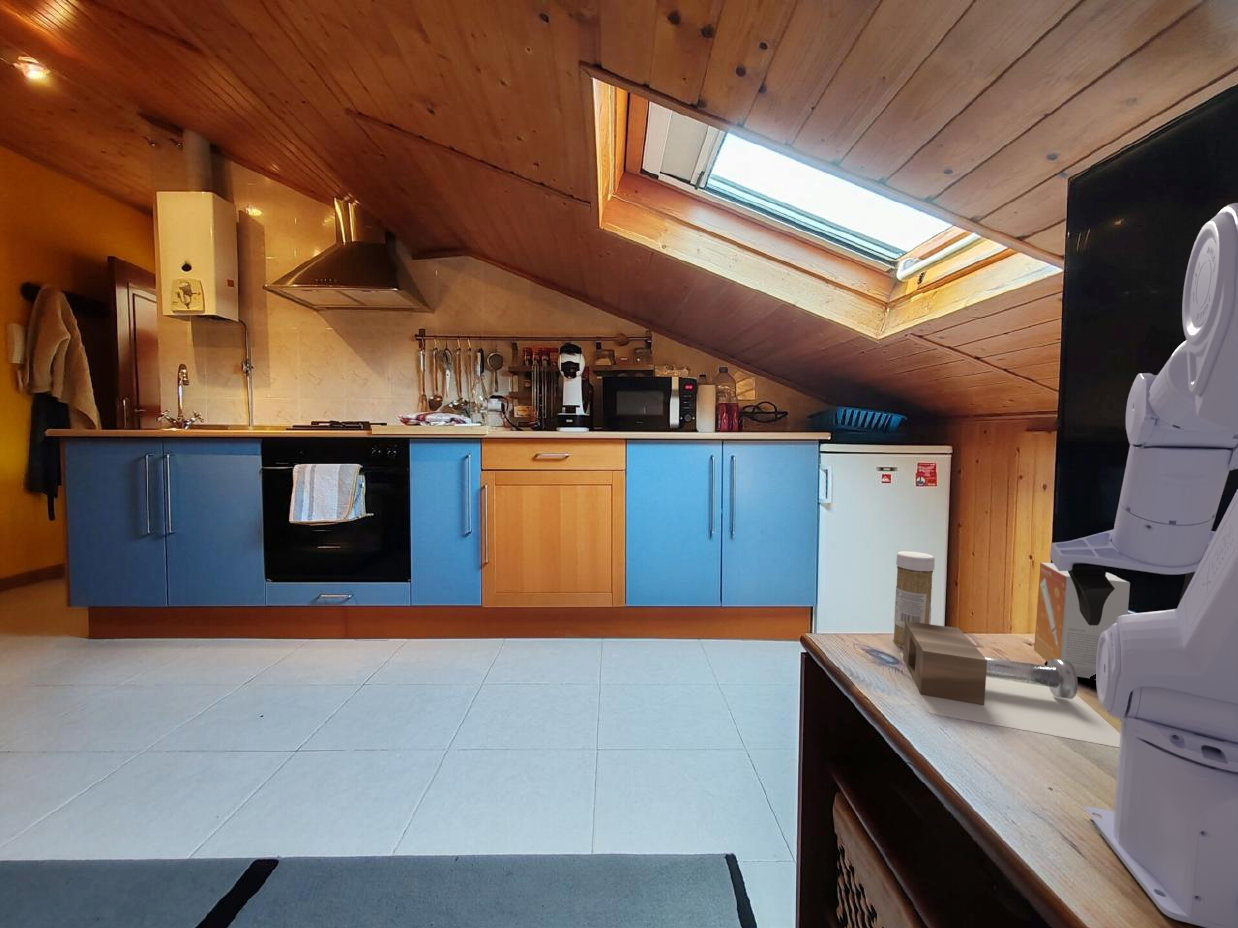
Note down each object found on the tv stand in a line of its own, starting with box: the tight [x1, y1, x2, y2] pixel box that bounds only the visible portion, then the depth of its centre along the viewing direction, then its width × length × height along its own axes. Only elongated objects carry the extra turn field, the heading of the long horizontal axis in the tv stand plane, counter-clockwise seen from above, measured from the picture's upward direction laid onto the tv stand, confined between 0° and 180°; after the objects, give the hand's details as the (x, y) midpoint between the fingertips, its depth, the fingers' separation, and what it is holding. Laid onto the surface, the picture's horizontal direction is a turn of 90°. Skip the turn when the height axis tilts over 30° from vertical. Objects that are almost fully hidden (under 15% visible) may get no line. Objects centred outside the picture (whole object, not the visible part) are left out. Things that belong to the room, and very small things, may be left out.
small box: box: [1033, 562, 1131, 679], centre depth 65 cm, size 8×6×13 cm
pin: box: [984, 656, 1079, 699], centre depth 58 cm, size 4×12×4 cm, turn 70°
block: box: [902, 621, 987, 706], centre depth 60 cm, size 10×6×5 cm, turn 160°
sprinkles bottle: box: [892, 550, 935, 648], centre depth 70 cm, size 5×5×14 cm
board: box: [899, 652, 1120, 749], centre depth 57 cm, size 16×17×1 cm
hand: (1138, 617), depth 49 cm, fingers open, 7 cm apart
